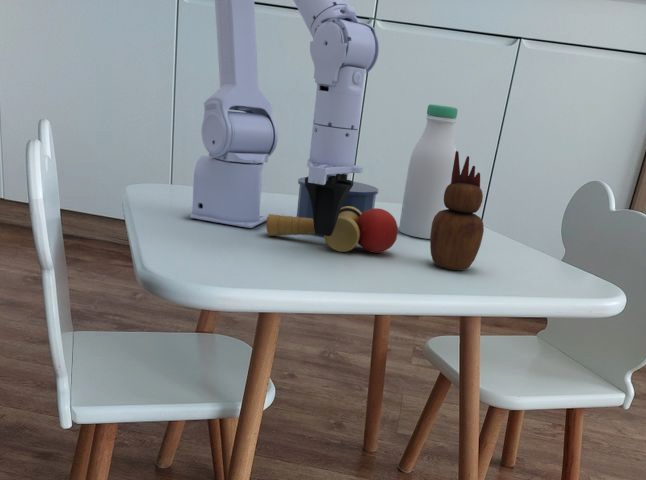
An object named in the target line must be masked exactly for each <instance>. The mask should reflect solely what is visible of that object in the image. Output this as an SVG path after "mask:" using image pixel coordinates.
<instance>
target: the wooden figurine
mask: <svg viewBox="0 0 646 480" xmlns="http://www.w3.org/2000/svg"><path fill="white" fill-rule="evenodd" d="M460 166H461V165H460V155H459V151H458V150H456V153H455V159H454V165H453V171H452V178H451V184H449V185H448V186H447V188H446V190H445V193H444V205H445V207H446V208H448V209H446V210H442V211H439V212H438V213H437V214H436V215H435V217H434V219H433V222H432V227H431V235H430V239H429V249H430V256H431V259H432V261H433V264H435V265H436V266H438V267H440V268H442V269H445V270H449V271H450V270H451V271H465V270H467V269H469V268H470V267H471V265H472V264H473V263H474V261H475V260H476V257H477V256H478V253H479V250H480V247H481V245H482V241H483V237H484V231H485V230H484V229H485V228H484V222H483V220H482V218H481V217H480V216H478V214H476V213H477V212H479V210H480V208H481V207H482V203H483V199H484V194H483V190H482V188H481V173H480V172H477V173H476V166H475V165H472V167H471V169H470V167H469V166H470V156H469V155H467V156H466V158H465V160H464V164H463V167H462V170H461V168H460ZM469 170H470V171H469Z"/></svg>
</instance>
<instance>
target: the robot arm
mask: <svg viewBox="0 0 646 480" xmlns="http://www.w3.org/2000/svg"><path fill="white" fill-rule="evenodd" d="M293 2H294V4H295V6H296V8H297V10H298V12H299V14H300V16H301V17H302V20H303V22H304V23H305V25H306V27H307V29H308V32H309V33H310V35H311V38H312V40H311V41H310V42H309V51H310V57H311V60H312V62H313V66H314V67H313V68H314V73H313V79H314V82H315V84H316V92H315V101H314V112H313V122H312V129H311V138H310V139H311V141H310V149H309V158H308V159H307V163H306V166H307V168H308V175H307V176H305V186H306V188H307V190H308V193H309V196H310V200H311V205H312V212H313V223H314V231H315V234H319V235H325V236H331V235H332V233H333V231H334V228H335V225H336V222H337V219H338V216H339V212H340V209H341V207H342V204H343V202H344V200H345V198H346V196H347V194H348V192H349V191H350V189H351V188H352V186H353V182H354V181H353V180H351V179H347V180H346V179H340V178H341V174H345V175H348V176H349V174H354V173H355V174H362V173H364V172H363V171H364V167H363V166H361V165H355V161H356V153H357V144H358V137H359V128H360V121H361V113H362V106H363V96H364V89H365V82H366V75H367V74H368V73H369V72H371V70H372V69H373V68H374V67H375V65H376V63H377V61H378V57H379V52H380V43H379V38H378V35H377V33H376V29H375V28H374V26H372V25H371V24H370V23H365V22H362V21H361V19H360V18H358V17H357V11H356V9H355V7H354V6H352V5H351V4H350V2H349V0H293ZM214 8H215V9H214V10H215V24H216V25H215V27H216V42H217V44H216V45H217V59H218V73H219V74H218V76H219V89H217V90H216V91H215V92H213V94H212V95H210V96H209V97H208V98H207V99H205V101H204V102H203V109H204V112H203V113H204V114H203V120H202V124H201V139H202V143H203V145H204V147H205V150H206V151H207V153H208V155H202V156H200V157H199V158H198V160H197V161H196V164H195V168H194V171H193V186H192V187H193V188H192V206H191V207H192V208H191V209H192V211H191V214H190V215H189V218H190V219H195V220H201V221H206V222H212V223H219V224H224V225H231V226H235V227H241V228H246V229H247V228H248V229H252V228H254V227H256V226H259V225H261V224H263V223H264V222H265V223H266V222H267V217H268V216H264V215H263V216H262V215H260V212H261V198H262V187H263V172H264V163H269V157H271V155H272V154H273V153H275V150H276V148H277V145H278V140H279V131H278V126H277V124H276V121H275V118H274V113H273V111H274V110H273V103H272V102H271V101H270V100H269V98H267V96H266V95H265V94H264V93H263V92H262V91H261V90H260V88H259V73H258V72H259V71H258V53H257V49H258V48H257V33H256V32H257V31H256V29H257V28H256V9H255V0H214ZM315 234H314V235H315ZM319 235H318V236H319Z"/></svg>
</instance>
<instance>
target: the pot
mask: <svg viewBox="0 0 646 480" xmlns="http://www.w3.org/2000/svg"><path fill="white" fill-rule="evenodd" d="M376 198H377V194H376V195H368V196H362V195H347V196H346V198H345V200H344V202H343V204H342V207H341V208H343V207H346V206H351V207H355V208H356V209H358V210H359V211H360V212H361V213H363V212H365V211H367V210H369V209H374V208H375V206H376V205H375V204H376ZM296 217H303V218H313V212H312V205H311V200H310V196H309V193H308V190H307V188H306V187H304V186H302V185H300V184H299V188H298V199H297V209H296ZM314 235H315V236H320V237H324V235H319V234H314Z"/></svg>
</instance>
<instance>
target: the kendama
mask: <svg viewBox="0 0 646 480" xmlns="http://www.w3.org/2000/svg"><path fill="white" fill-rule="evenodd" d="M266 217H267V221H266V232H267V235H268V236H269V237H274V236H275V237H276V236H277V237H278V236H299V235H301V236H304V235H315V231H314V223H313V218H303V217H297V216H291V215H289V216H288V215H279V214H271V213H269V214H268V215H267V216H266ZM398 230H399V226H398V223H397V220H396V218H395V217H394V215H393V214H392V213H390V212H389V211H387V210H385V209H383V208H378V207H377V208H375V207H374V209H369V210H367V211H365V212H363V213H361V212H360V211H359V210H358V209H356V208H355V207H351V206H346V207H343V208H341V209H340V212H339V216H338V219H337V222H336V225H335V228H334V231H333V233H332V235H331V236H325V235H324V236H323V238H324V241H325V243H326V244H327V246H328V247H329V248H330V249H332V250H334V251H336V252H339V253H347V252H349V251H352V250H353V249H354V248H355V247H356V246H357V245H358V246H360V247H361V248H362V249H363V250H365V251H367V252H369V253H374V254H377V253H378V254H379V253H383V252H386V251H388V250H389V249H391V248H392V247H393V246H394V245H395V243H396V241H397V239H398V238H397V237H398V232H399V231H398Z"/></svg>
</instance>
